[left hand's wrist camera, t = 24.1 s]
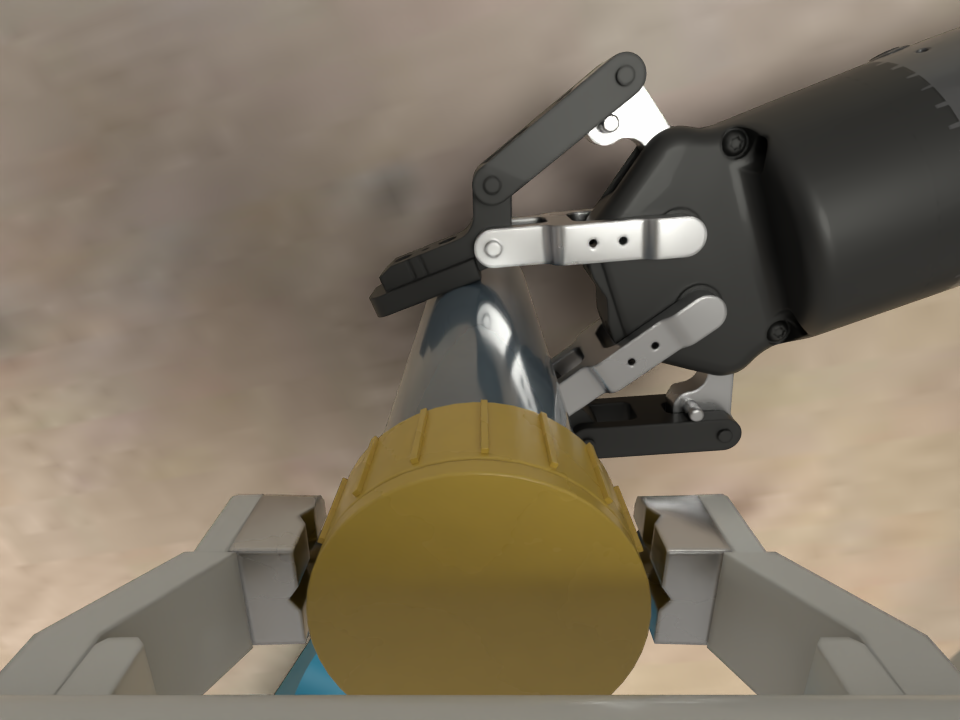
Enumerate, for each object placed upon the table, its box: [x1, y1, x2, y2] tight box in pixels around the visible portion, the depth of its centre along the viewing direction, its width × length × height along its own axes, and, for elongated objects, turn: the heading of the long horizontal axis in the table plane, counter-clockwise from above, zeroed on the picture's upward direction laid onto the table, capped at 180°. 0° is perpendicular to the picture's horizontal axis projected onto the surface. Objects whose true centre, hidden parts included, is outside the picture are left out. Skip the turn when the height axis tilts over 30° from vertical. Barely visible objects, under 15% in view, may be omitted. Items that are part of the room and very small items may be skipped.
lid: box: [306, 400, 651, 695], centre depth 10 cm, size 5×5×2 cm
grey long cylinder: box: [384, 266, 574, 433], centre depth 18 cm, size 4×4×19 cm
